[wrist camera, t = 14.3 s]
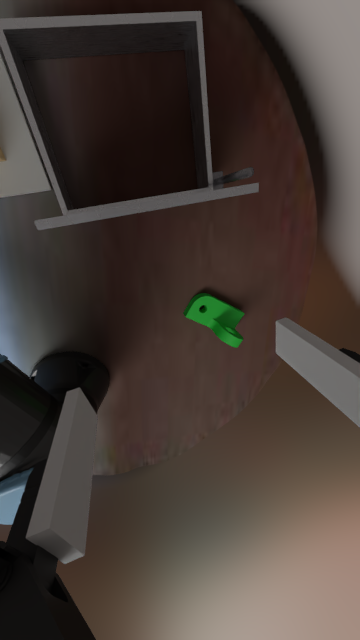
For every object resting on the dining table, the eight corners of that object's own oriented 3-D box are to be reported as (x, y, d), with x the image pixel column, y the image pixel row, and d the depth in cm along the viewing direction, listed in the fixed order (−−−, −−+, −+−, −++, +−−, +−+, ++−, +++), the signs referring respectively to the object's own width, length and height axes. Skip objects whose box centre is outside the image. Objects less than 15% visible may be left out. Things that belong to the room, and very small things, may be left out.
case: (73, 223, 34) (39, 232, 19) (12, 52, 25) (-139, -175, 10) (211, 199, 37) (272, 191, 22) (200, 40, 28) (288, -142, 14)
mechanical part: (240, 309, 49) (259, 326, 42) (225, 331, 51) (242, 350, 44) (197, 288, 44) (211, 302, 37) (182, 312, 46) (194, 331, 39)
